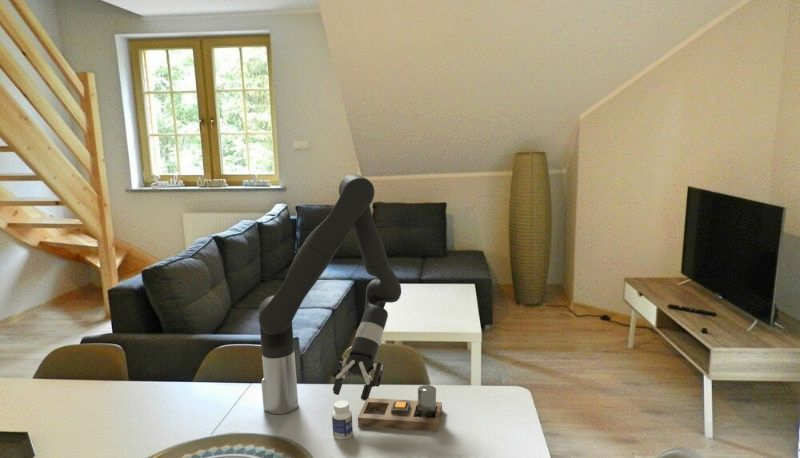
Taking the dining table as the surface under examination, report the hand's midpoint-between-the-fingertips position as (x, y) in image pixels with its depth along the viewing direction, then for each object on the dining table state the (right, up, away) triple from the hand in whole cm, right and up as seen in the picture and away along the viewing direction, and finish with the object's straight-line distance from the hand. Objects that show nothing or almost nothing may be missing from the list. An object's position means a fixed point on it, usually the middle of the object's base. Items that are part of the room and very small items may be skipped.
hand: (349, 396), depth 145 cm
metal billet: (+21, -8, +4) cm, 23 cm away
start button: (+14, -5, +5) cm, 15 cm away
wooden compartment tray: (+14, -8, +5) cm, 17 cm away
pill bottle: (-1, -10, -2) cm, 10 cm away
